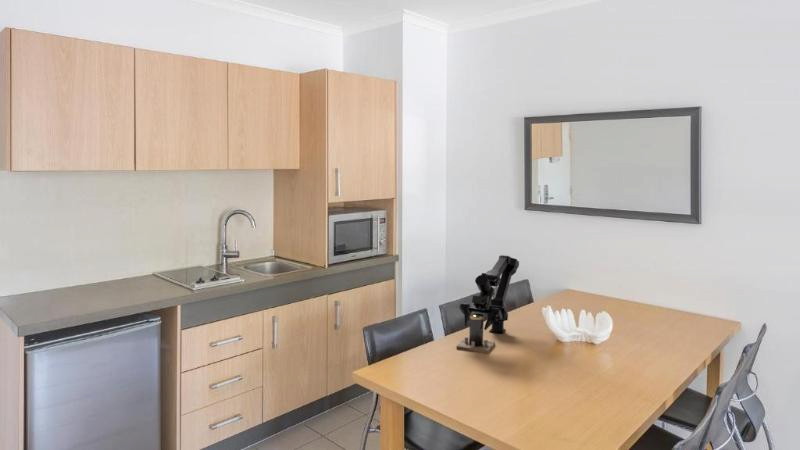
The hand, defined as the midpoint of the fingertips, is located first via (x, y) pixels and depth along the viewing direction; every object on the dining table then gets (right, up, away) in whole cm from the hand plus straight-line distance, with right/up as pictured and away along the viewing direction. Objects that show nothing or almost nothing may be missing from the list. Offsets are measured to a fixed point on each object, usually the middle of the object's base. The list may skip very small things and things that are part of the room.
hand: (475, 327), depth 239 cm
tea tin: (+1, -8, +2) cm, 8 cm away
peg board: (+1, -9, +2) cm, 9 cm away
